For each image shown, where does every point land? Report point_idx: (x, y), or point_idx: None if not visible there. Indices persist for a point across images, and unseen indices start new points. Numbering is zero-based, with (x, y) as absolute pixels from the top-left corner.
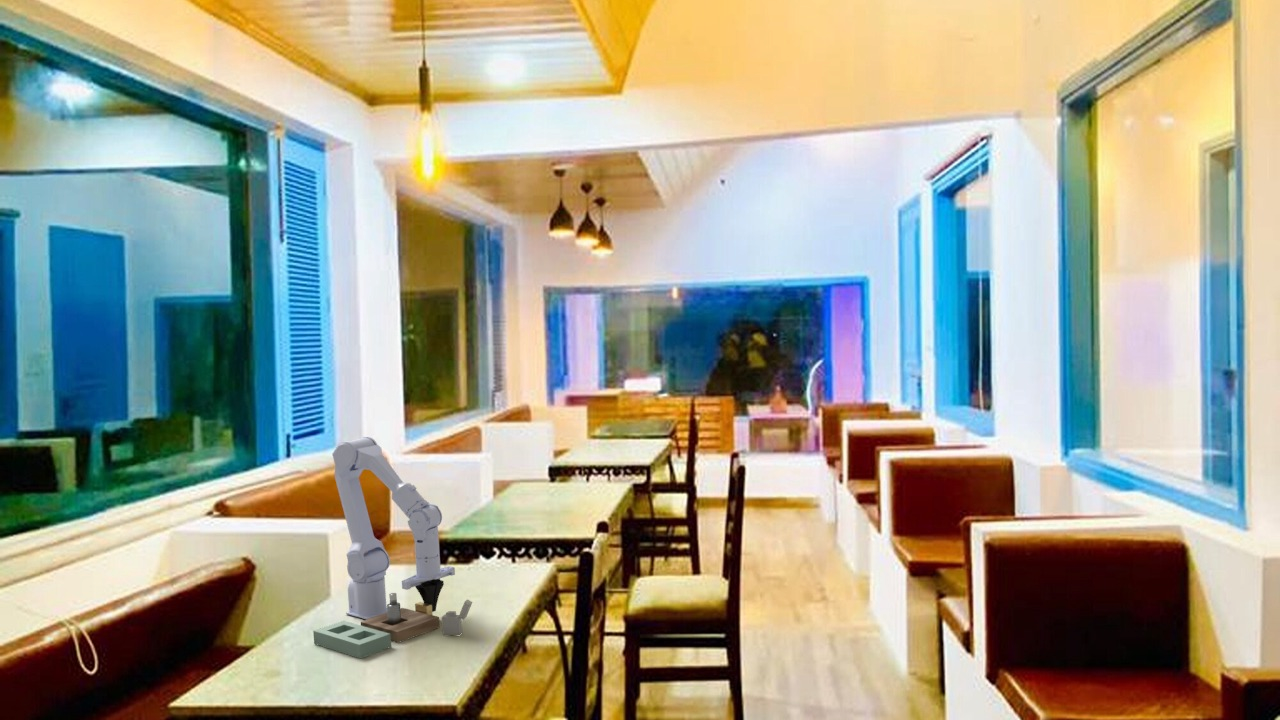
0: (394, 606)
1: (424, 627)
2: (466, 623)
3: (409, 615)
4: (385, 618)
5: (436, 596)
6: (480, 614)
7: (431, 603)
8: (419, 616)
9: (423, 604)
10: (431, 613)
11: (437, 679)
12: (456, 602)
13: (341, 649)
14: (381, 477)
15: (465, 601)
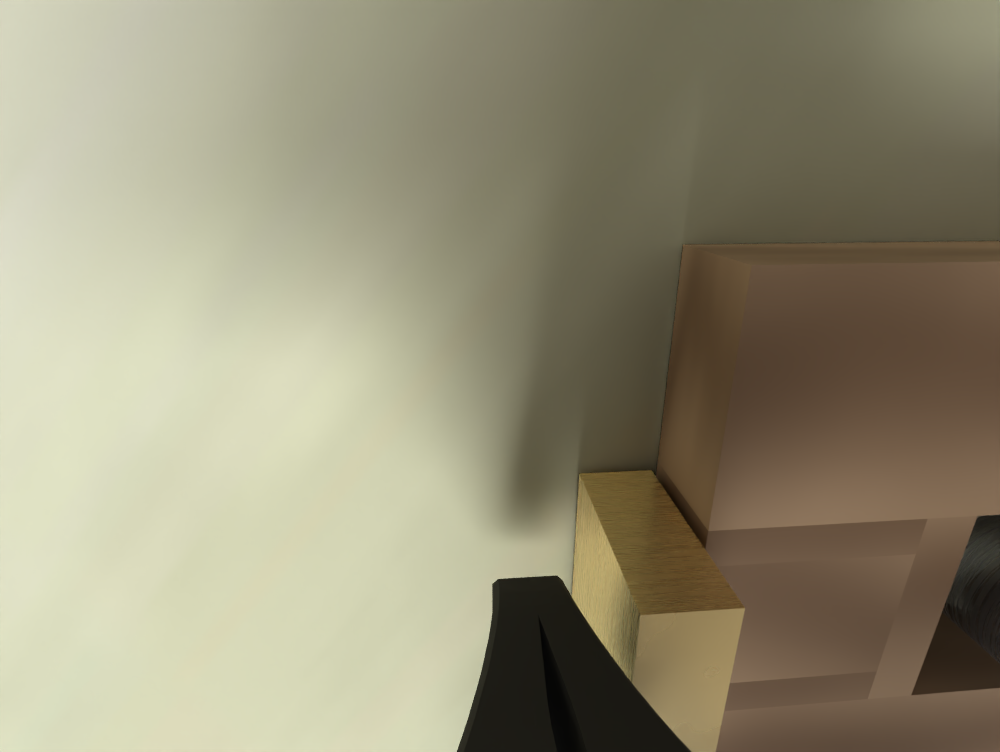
0: None
1: (956, 248)
2: (392, 28)
3: (833, 633)
4: (981, 732)
5: (521, 744)
6: (13, 176)
7: (604, 657)
8: (828, 515)
9: (688, 705)
10: (618, 525)
11: None
12: (31, 746)
13: None
14: None
15: None
